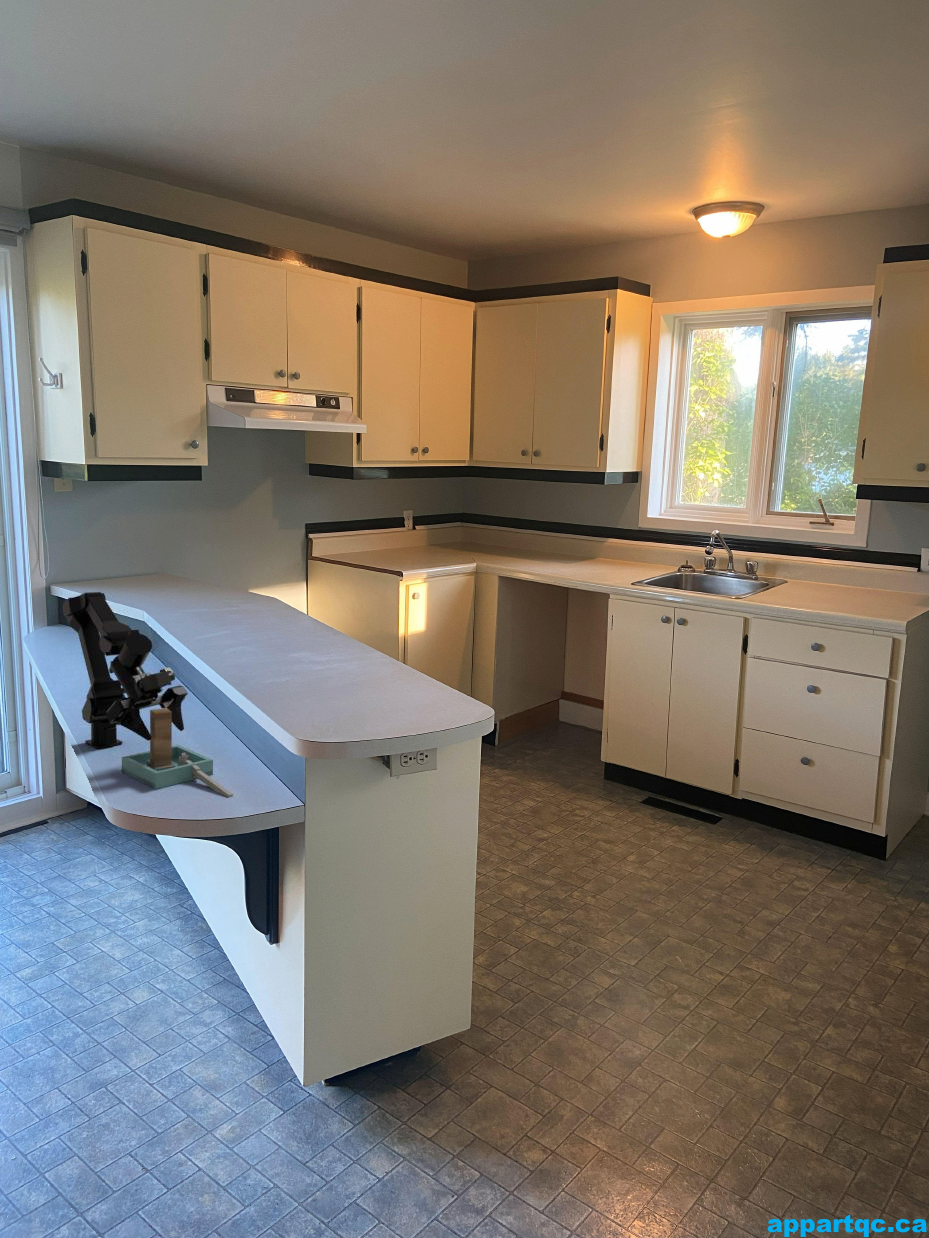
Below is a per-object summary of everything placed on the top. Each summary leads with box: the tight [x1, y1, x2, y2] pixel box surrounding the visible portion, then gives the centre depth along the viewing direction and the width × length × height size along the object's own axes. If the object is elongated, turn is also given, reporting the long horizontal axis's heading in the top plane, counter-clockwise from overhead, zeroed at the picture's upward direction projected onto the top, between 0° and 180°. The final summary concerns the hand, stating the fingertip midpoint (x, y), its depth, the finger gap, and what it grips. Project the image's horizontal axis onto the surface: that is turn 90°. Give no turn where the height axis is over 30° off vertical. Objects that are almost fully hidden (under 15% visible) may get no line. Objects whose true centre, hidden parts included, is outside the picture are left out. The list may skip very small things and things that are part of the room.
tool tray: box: [121, 744, 214, 790], centre depth 197 cm, size 14×14×4 cm
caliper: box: [178, 753, 234, 798], centre depth 191 cm, size 20×1×6 cm, turn 50°
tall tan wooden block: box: [146, 708, 175, 771], centre depth 196 cm, size 6×4×14 cm
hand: (166, 734), depth 196 cm, fingers open, 9 cm apart
